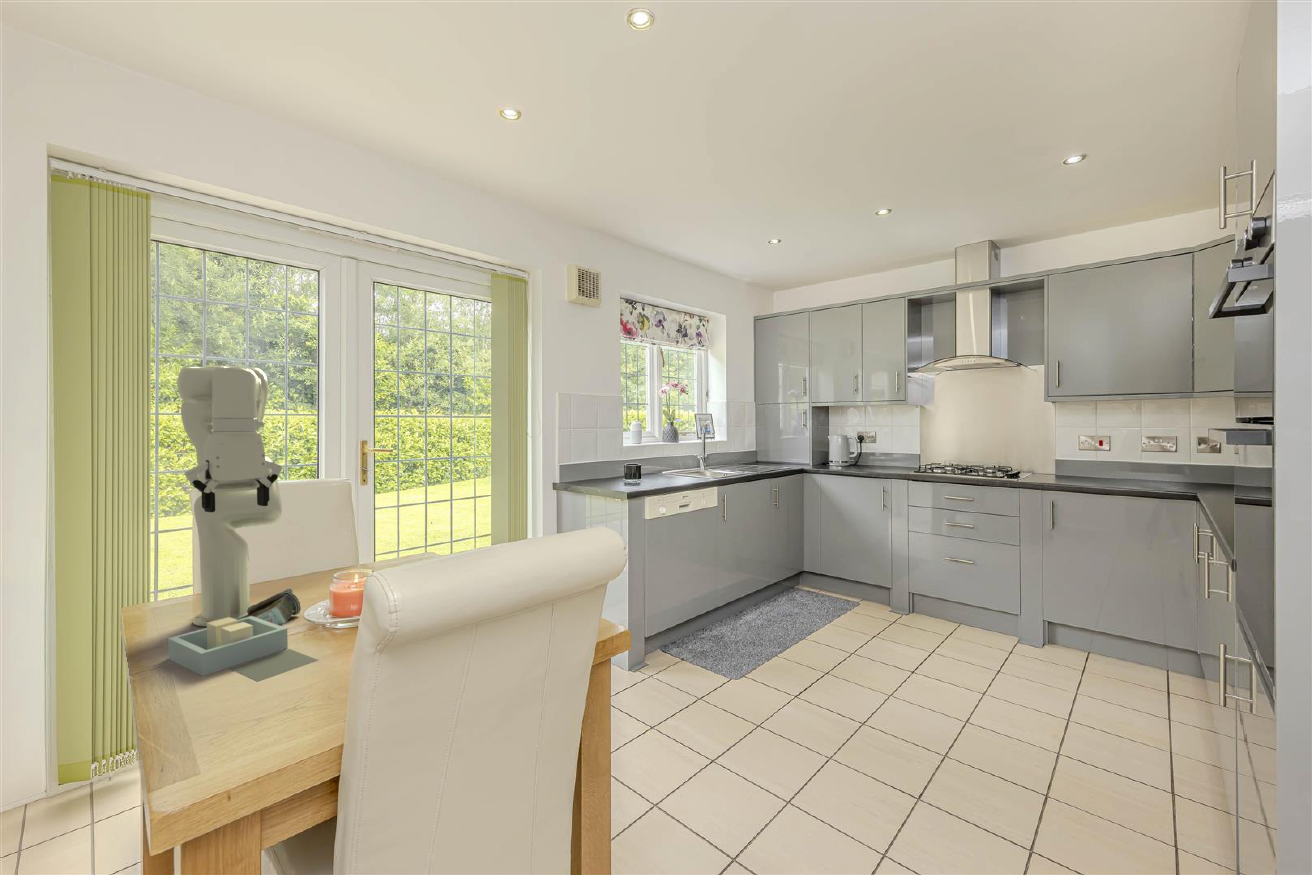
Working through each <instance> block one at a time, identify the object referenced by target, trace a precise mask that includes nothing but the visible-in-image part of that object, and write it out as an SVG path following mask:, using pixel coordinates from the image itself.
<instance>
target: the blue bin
mask: <svg viewBox="0 0 1312 875" xmlns="http://www.w3.org/2000/svg"><path fill="white" fill-rule="evenodd" d="M242 622H245V623H248V624H250V625H253V637H250V638H246V639H243V640H239V641H236V642H233V643H229V644H226V645H222V646H219V647H215V648H212V649H209V650H207V627H206V628H205V627H204V628H201V629H197V630H195V631H189V632H185V633H183V634H179V635H174V636H172V637H171V636H170V637H167V647H168V648H167V651H168V655H167V657H168V658H167V659H168V660H170V661H172V662H174V663H175V664H177V665H180V666H182V667H184V668H186V669H188V670H190V671H192V672H194V673H195V674H198V675H200V676H202V677H203V676H205V675H209V674H212V673H215V672H218V671H222V670H224V669H228V668H232V667H235V666H238V665H241V664H244V663H247V662H250V661H253V660H257V659H260V658H263V657H266V656H269V655H272V654H275V653H278V652H281V651H284V650H287V649H289V648H288V646H289V643H288V640H289V639H288V627H285V626H281V625H280V624H279V625H276V624H274V623H271V622H268V621H265V620H262V619H259V618H256V617H253V616H250V617H246V618H242V619H238V623H242Z"/></svg>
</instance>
